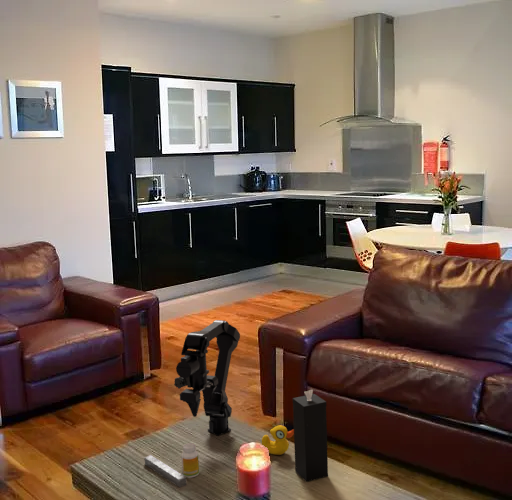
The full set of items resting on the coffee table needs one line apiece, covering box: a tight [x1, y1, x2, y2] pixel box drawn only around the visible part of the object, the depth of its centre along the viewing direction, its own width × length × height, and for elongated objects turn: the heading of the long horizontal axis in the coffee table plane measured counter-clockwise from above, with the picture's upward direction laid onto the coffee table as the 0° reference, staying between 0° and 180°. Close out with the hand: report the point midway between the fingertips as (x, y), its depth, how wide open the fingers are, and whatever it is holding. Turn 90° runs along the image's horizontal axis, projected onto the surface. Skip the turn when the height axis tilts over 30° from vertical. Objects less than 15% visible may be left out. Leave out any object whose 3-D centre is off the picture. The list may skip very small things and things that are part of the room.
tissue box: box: [292, 389, 329, 482], centre depth 199 cm, size 8×8×28 cm
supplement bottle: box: [180, 442, 200, 479], centre depth 203 cm, size 5×5×10 cm
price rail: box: [143, 454, 187, 488], centre depth 204 cm, size 3×21×2 cm, turn 40°
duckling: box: [261, 424, 294, 456], centre depth 215 cm, size 11×5×10 cm, turn 81°
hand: (200, 411), depth 221 cm, fingers open, 9 cm apart
